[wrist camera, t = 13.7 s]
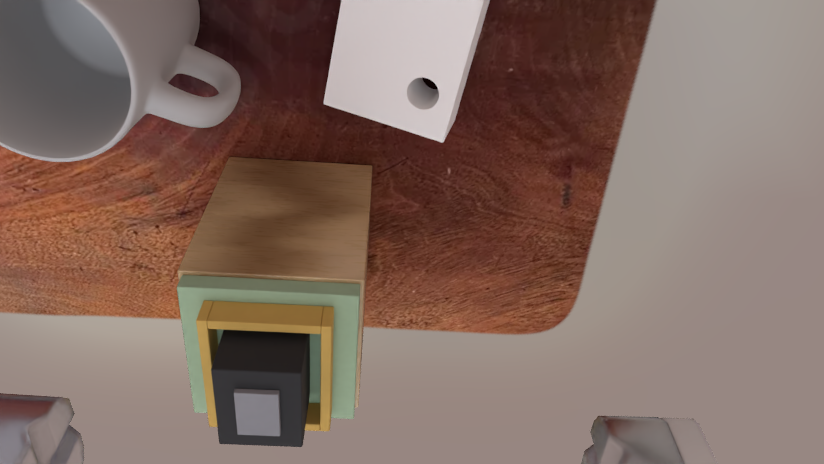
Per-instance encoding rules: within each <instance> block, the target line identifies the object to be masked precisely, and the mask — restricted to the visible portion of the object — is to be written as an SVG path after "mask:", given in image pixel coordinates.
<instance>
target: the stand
mask: <svg viewBox="0 0 824 464" xmlns="http://www.w3.org/2000/svg"><path fill="white" fill-rule="evenodd" d="M371 185H372V166H371V165H355V164H339V163H322V162H306V161H290V160H274V159H257V158H241V157H229V158H228V161H227V163H226V165H225V167H224V169H223V172H222V174H221V176H220V178H219V180H218V183H217V185H216V187H215V189H214V192H213V194H212V196H211V198H210V200H209V203H208V205H207V207H206V209H205V211H204V214H203V216H202V218H201V220H200V222H199V225H198V227H197V229H196V231H195V233H194V236H193V238H192V240H191V242H190V245H189V247H188V249H187V251H186V253H185V256H184V258H183V260H182V262H181V264H180V267H179V269H178V277H179V281H180V279H181V276H182V275H196V276H216V277H235V278H255V279H274V280H293V281H313V282H332V283H351V284H360V304H359V326H358V348H357V369H356V391H355V407H356V408H357V407H358V405H359V389H360V374H361V358H362V342H363V327H364V311H365V296H366V280H367V261H368V242H369V223H370V204H371Z"/></svg>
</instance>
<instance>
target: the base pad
mask: <svg viewBox="0 0 824 464" xmlns="http://www.w3.org/2000/svg"><path fill="white" fill-rule="evenodd" d="M177 292H178V300H179V307H180V314H181V321H182V328H183V335H184V342H185V350H186V356H187V364H188V371H189V378H190V385H191V392H192V399H193V406H194V412H197V413H208V420H209V426H211V427H217V418H216V409H215V400H214V392H213V383H212V374H211V368H212V365H213V362H214V359H215V355H216V352H217V349H218V346H219V343H220V340H221V337H222V334H223V330H244V331H265V332H286V333H307V334H310V397H309V404H308V411H307V418H306V425H305V430H310V431H311V430H313V431H319V430H320V431H329V430H330V422H331V418H347V419H353V418H354V410H355V391H356V369H357V348H358V326H359V304H360V284H351V283H332V282H313V281H293V280H274V279H255V278H235V277H216V276H196V275H182V276H181V279H180V281H179V283H178V285H177Z"/></svg>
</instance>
